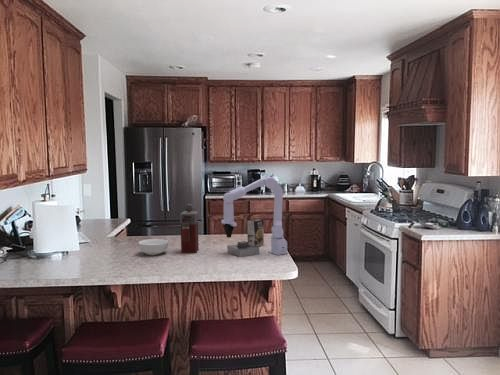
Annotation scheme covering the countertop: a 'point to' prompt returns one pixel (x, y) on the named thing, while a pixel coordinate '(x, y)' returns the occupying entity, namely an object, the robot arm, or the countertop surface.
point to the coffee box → (256, 232)
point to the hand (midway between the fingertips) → (229, 237)
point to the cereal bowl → (153, 246)
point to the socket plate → (243, 250)
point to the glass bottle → (189, 230)
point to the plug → (243, 244)
